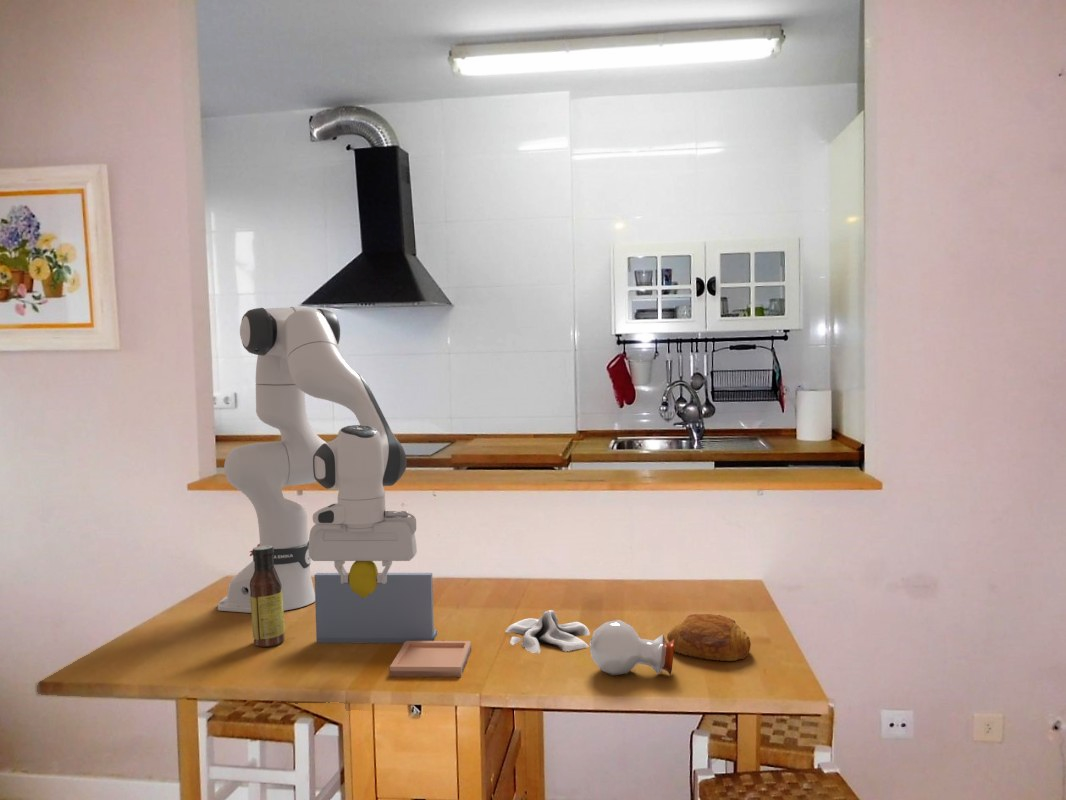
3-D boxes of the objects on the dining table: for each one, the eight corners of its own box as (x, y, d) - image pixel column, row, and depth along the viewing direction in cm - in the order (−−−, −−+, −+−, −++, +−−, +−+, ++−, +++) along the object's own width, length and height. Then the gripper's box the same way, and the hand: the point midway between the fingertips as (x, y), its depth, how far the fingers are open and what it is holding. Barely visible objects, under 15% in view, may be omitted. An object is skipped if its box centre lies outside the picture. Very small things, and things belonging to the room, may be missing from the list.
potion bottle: (586, 675, 141) (668, 689, 138) (584, 661, 133) (672, 676, 130) (593, 625, 146) (673, 638, 143) (592, 609, 137) (676, 623, 135)
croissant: (738, 681, 139) (744, 640, 138) (658, 654, 147) (662, 615, 145) (758, 653, 151) (764, 614, 150) (683, 629, 159) (688, 593, 158)
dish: (390, 676, 138) (389, 666, 138) (406, 649, 151) (406, 640, 151) (461, 676, 138) (460, 667, 138) (471, 650, 151) (471, 641, 151)
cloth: (508, 622, 168) (507, 595, 168) (592, 623, 166) (592, 595, 166) (492, 661, 146) (491, 630, 146) (589, 663, 144) (589, 631, 144)
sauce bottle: (291, 639, 159) (288, 544, 158) (272, 649, 153) (268, 551, 152) (265, 636, 161) (262, 542, 160) (245, 646, 155) (241, 549, 154)
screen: (316, 642, 156) (314, 575, 156) (324, 634, 161) (322, 568, 161) (432, 643, 155) (430, 574, 154) (437, 634, 160) (435, 568, 159)
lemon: (371, 603, 143) (370, 560, 142) (344, 601, 144) (343, 559, 143) (383, 594, 148) (382, 553, 148) (357, 593, 149) (355, 552, 149)
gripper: (419, 507, 148) (421, 578, 148) (315, 508, 149) (318, 578, 150) (412, 514, 141) (414, 588, 142) (304, 514, 143) (306, 587, 143)
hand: (363, 583), depth 146 cm, fingers closed on lemon, 6 cm apart
